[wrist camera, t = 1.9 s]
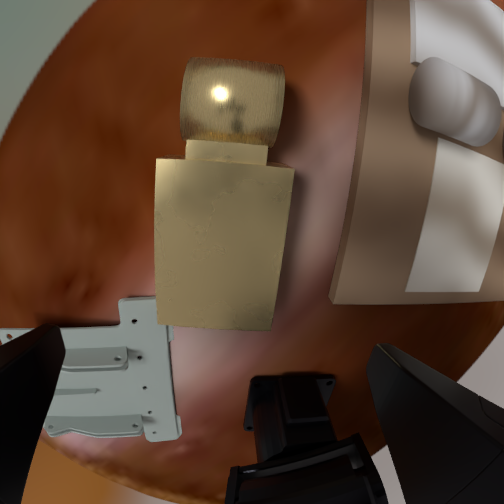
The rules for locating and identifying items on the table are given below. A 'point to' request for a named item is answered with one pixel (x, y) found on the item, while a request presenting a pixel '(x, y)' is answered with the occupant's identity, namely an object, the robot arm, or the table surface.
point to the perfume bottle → (223, 200)
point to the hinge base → (427, 158)
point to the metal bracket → (115, 378)
